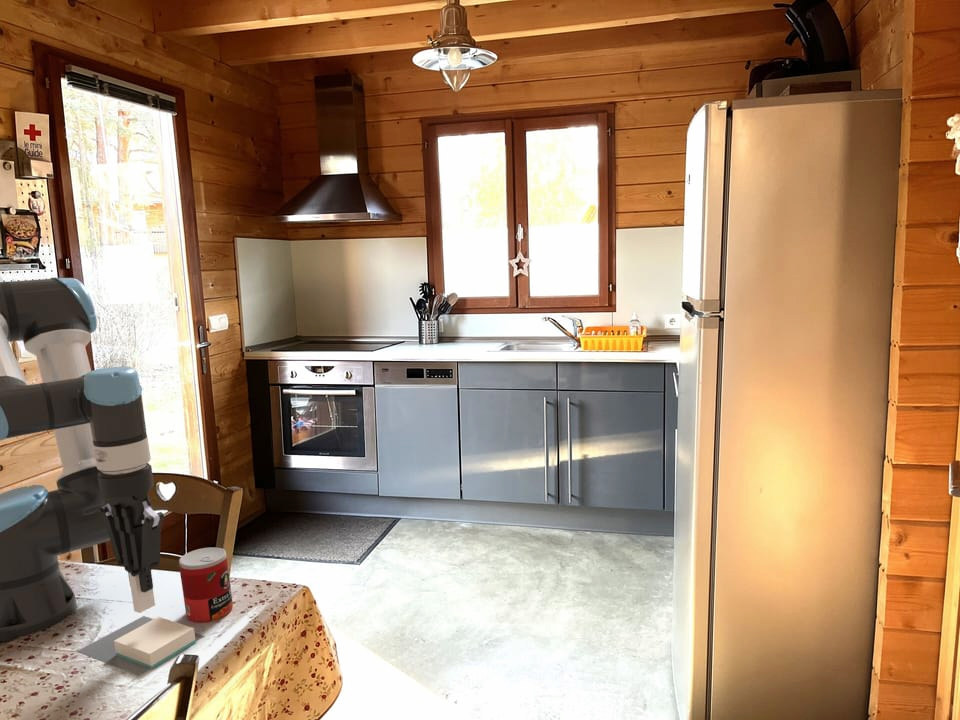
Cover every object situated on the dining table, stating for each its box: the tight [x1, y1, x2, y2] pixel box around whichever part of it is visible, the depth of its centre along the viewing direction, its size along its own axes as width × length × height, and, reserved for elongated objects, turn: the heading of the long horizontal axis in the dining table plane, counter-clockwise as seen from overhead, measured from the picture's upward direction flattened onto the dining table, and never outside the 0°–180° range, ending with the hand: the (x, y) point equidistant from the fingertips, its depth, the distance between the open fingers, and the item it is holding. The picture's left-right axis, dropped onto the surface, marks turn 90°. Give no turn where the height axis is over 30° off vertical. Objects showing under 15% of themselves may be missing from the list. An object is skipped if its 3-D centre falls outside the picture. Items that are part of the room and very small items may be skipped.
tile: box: [114, 616, 197, 670], centre depth 114 cm, size 2×8×9 cm
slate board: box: [76, 615, 205, 677], centre depth 116 cm, size 16×12×1 cm
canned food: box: [178, 546, 234, 624], centre depth 124 cm, size 8×8×11 cm
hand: (144, 608), depth 114 cm, fingers closed
